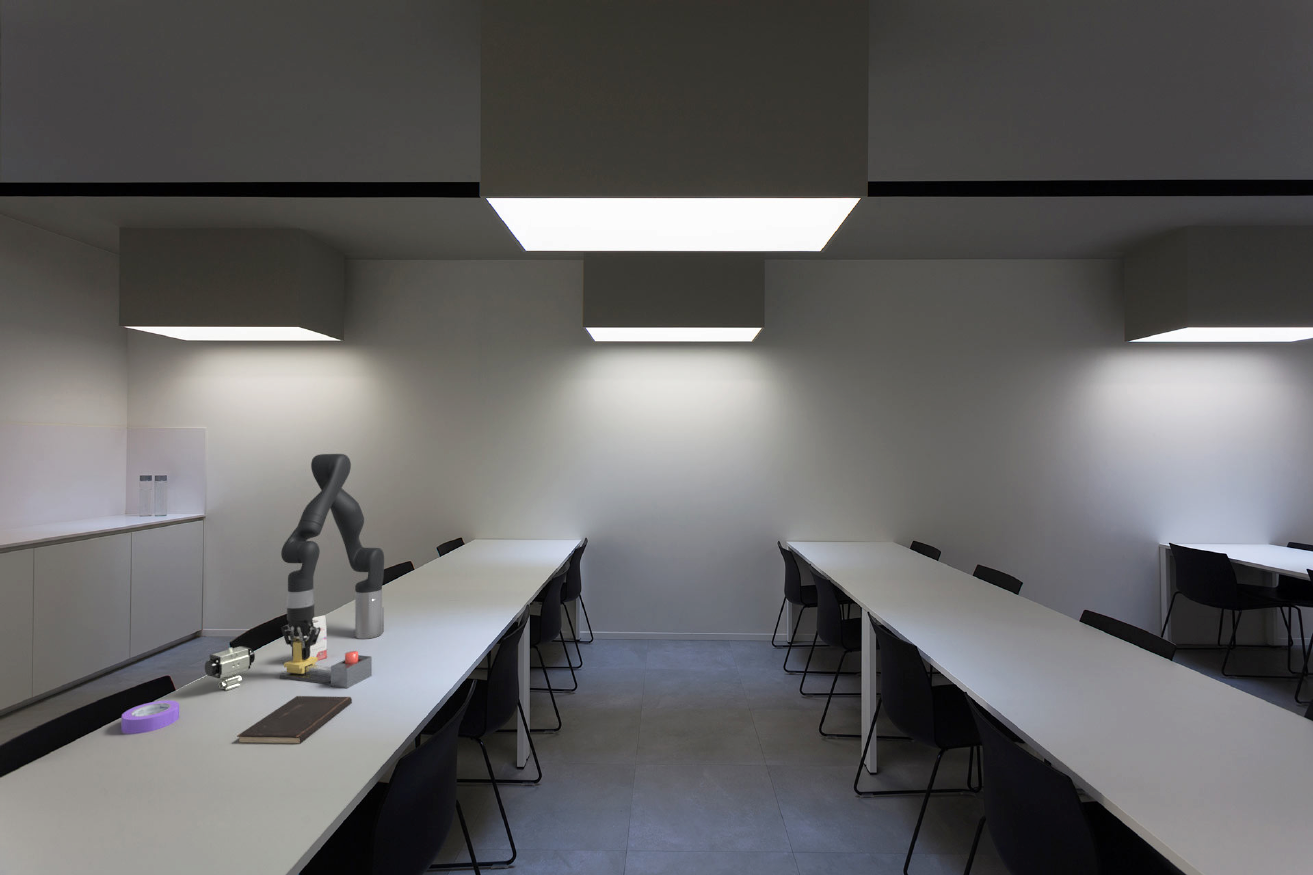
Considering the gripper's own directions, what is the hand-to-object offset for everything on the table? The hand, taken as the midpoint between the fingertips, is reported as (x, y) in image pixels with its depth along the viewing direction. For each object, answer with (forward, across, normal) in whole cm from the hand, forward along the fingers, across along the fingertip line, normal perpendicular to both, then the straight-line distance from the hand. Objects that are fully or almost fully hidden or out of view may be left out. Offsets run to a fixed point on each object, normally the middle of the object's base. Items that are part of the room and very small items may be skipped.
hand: (300, 658), depth 192 cm
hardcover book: (+6, -26, +26) cm, 38 cm away
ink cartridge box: (+5, +8, -11) cm, 14 cm away
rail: (+5, -6, 0) cm, 8 cm away
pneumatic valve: (+5, +12, +14) cm, 19 cm away
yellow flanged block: (+4, 0, 0) cm, 4 cm away
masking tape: (+6, +10, +37) cm, 39 cm away
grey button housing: (+5, -20, 0) cm, 20 cm away
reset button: (+2, -19, 0) cm, 20 cm away
